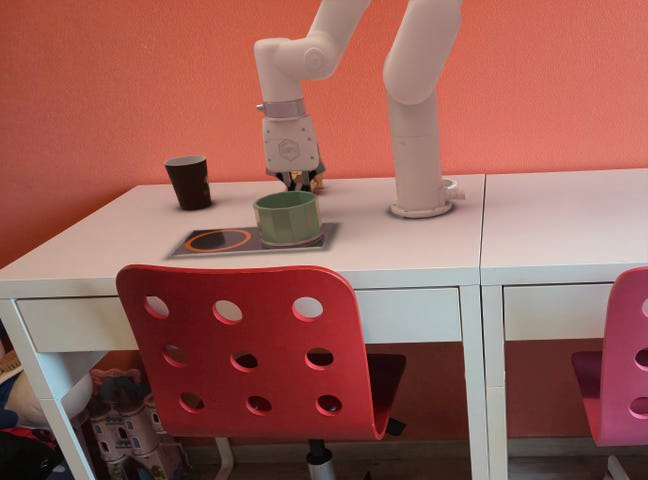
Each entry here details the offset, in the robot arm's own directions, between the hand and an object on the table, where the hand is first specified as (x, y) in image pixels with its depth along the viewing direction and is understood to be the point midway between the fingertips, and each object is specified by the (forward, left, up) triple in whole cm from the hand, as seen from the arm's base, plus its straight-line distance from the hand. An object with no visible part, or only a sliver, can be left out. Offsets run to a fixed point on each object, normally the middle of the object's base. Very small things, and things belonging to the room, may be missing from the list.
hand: (301, 203), depth 144 cm
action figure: (+3, -20, -3) cm, 21 cm away
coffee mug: (+26, -14, -3) cm, 30 cm away
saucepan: (0, +8, -3) cm, 8 cm away
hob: (+7, +13, -3) cm, 15 cm away
